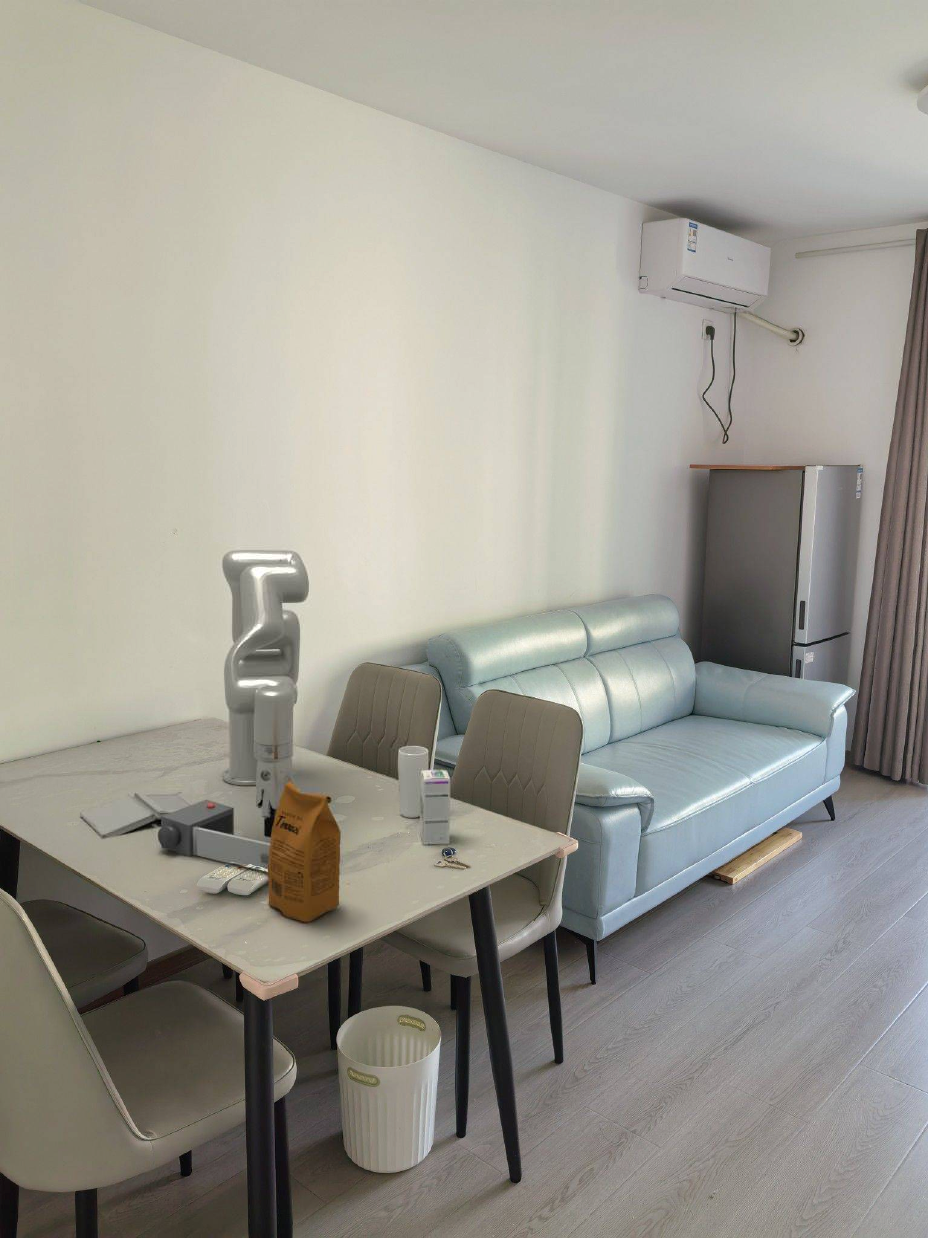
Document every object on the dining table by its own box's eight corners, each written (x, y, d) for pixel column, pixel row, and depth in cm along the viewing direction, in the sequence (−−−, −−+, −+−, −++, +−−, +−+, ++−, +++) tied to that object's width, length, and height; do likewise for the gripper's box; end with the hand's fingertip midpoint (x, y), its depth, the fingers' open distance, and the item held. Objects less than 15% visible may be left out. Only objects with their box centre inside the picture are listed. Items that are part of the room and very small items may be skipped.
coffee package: (303, 887, 177) (304, 773, 173) (347, 909, 169) (349, 790, 165) (258, 904, 170) (258, 785, 166) (302, 928, 161) (302, 804, 158)
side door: (278, 872, 182) (278, 845, 181) (273, 875, 180) (274, 848, 179) (195, 852, 189) (195, 826, 188) (190, 855, 188) (190, 828, 187)
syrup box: (449, 844, 199) (452, 777, 196) (421, 845, 198) (423, 778, 195) (445, 834, 204) (448, 769, 202) (418, 834, 203) (420, 769, 201)
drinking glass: (433, 814, 215) (435, 750, 212) (411, 822, 210) (413, 756, 208) (412, 806, 219) (413, 743, 217) (390, 814, 215) (391, 749, 212)
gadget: (102, 842, 195) (102, 825, 195) (79, 819, 207) (78, 803, 206) (208, 819, 210) (208, 802, 209) (180, 799, 221) (180, 783, 221)
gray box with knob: (206, 828, 202) (206, 796, 201) (234, 837, 198) (233, 805, 197) (153, 850, 191) (153, 816, 190) (181, 860, 187) (181, 825, 185)
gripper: (280, 762, 180) (279, 853, 184) (303, 738, 195) (301, 822, 198) (242, 759, 181) (242, 849, 185) (267, 735, 196) (266, 819, 199)
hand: (273, 835), depth 191 cm, fingers closed
